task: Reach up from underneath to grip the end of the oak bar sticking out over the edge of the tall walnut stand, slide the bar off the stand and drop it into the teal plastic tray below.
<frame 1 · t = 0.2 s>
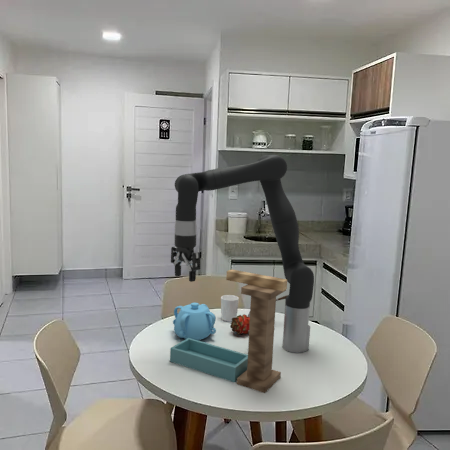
hand: (184, 278, 158), 29 cm above the table, tool pointing down, fingers open, 8 cm apart
white cup: (228, 319, 201), on the table
dragon fruit: (241, 333, 186), on the table
stand: (258, 380, 147), on the table
bar: (255, 284, 143), point 32 cm above the table, touching stand
decorative pot: (193, 336, 181), on the table
tray: (209, 365, 156), on the table
coffee pot: (271, 324, 197), on the table
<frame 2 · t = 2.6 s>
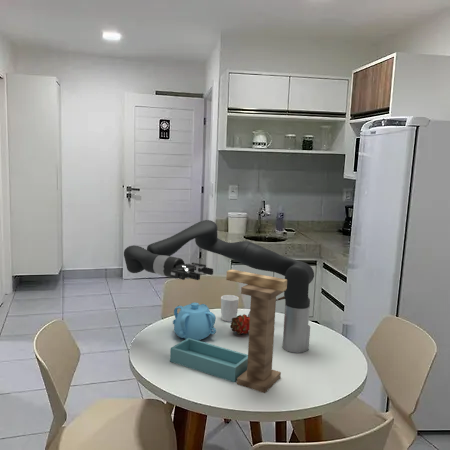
hand: (206, 274, 156), 31 cm above the table, tool horizontal, fingers open, 8 cm apart
nothing on the table moved.
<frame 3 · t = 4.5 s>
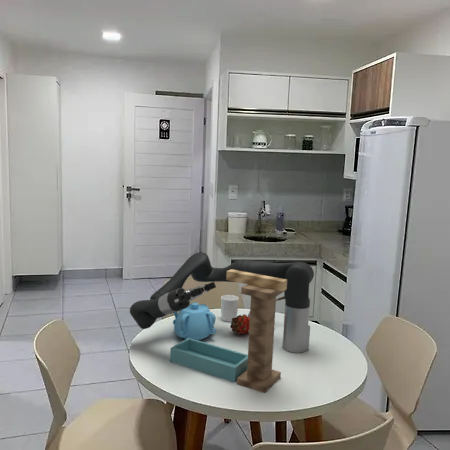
hand: (208, 287, 153), 28 cm above the table, tool pointing upward, fingers open, 8 cm apart
nothing on the table moved.
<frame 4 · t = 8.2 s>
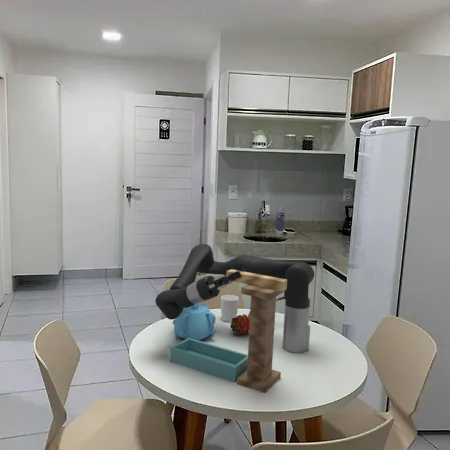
hand: (242, 272, 145), 35 cm above the table, tool pointing upward, fingers closed on bar, 3 cm apart
bar: (255, 284, 143), point 32 cm above the table, touching gripper, stand
everything else where it was.
when the fingers open (27 cm above the table, at t = 15.1 s): bar drops 23 cm, resting on tray.
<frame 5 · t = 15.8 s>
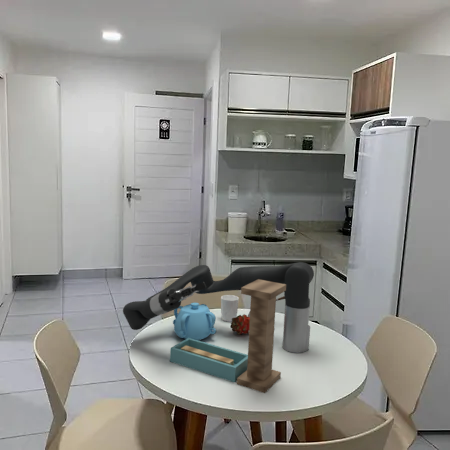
hand: (198, 287, 155), 27 cm above the table, tool pointing upward, fingers open, 8 cm apart
bar: (206, 362, 156), point 1 cm above the table, touching tray
everything else where it was.
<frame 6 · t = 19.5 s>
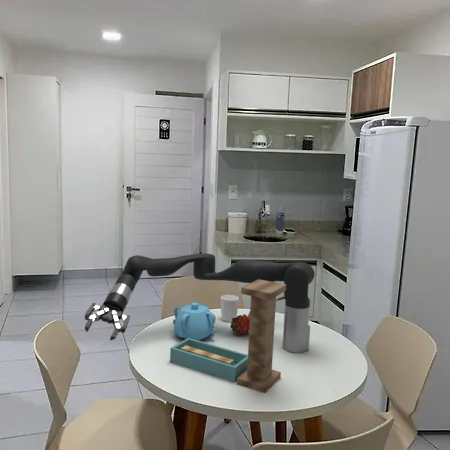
hand: (99, 334, 146), 13 cm above the table, tool tilted 60°, fingers open, 8 cm apart
nothing on the table moved.
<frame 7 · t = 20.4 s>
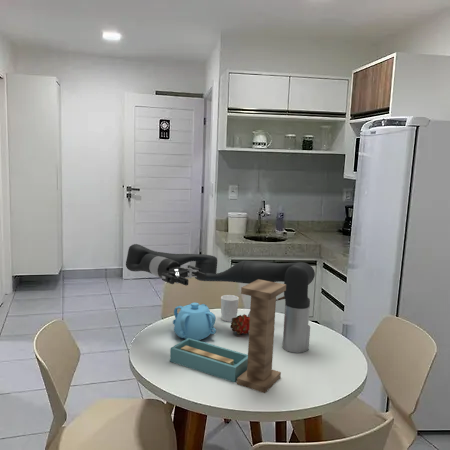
hand: (196, 279, 154), 30 cm above the table, tool horizontal, fingers open, 8 cm apart
nothing on the table moved.
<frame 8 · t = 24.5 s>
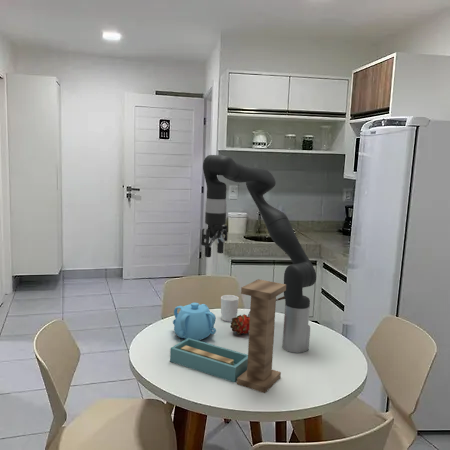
hand: (214, 255, 164), 36 cm above the table, tool pointing down, fingers open, 8 cm apart
nothing on the table moved.
at the end: bar inside the target area on the tray (1.3 cm from its centre), point 1.0 cm above the tray's base; bar touching tray; the gripper is holding nothing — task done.
